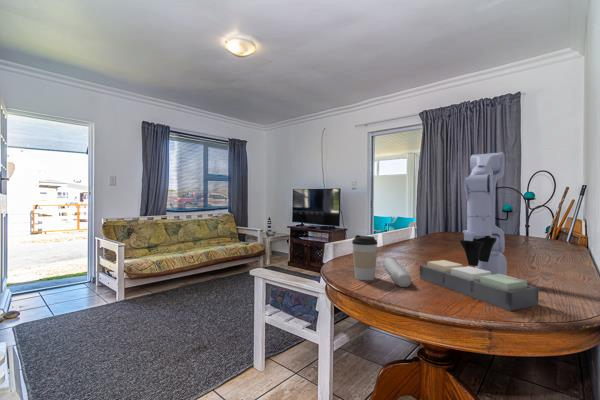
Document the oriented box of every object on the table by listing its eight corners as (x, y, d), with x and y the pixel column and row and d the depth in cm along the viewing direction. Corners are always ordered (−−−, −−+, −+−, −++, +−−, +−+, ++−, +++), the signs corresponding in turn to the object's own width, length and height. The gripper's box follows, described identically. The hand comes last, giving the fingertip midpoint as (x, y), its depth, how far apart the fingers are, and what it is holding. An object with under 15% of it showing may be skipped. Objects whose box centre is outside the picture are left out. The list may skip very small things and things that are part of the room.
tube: (415, 277, 91) (398, 259, 115) (399, 271, 91) (385, 254, 116) (410, 292, 91) (394, 271, 116) (393, 287, 91) (381, 267, 116)
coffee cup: (382, 277, 104) (382, 235, 104) (369, 282, 97) (369, 238, 97) (360, 273, 110) (360, 233, 110) (347, 278, 103) (346, 236, 103)
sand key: (444, 266, 103) (444, 260, 103) (462, 271, 96) (462, 264, 96) (427, 268, 101) (427, 261, 101) (444, 273, 94) (444, 266, 94)
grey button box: (444, 275, 105) (444, 263, 105) (538, 305, 76) (538, 287, 76) (419, 278, 102) (419, 265, 102) (509, 310, 73) (509, 292, 72)
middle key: (468, 273, 94) (468, 266, 94) (491, 279, 87) (491, 271, 87) (451, 275, 91) (451, 268, 91) (472, 282, 84) (472, 274, 84)
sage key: (499, 282, 84) (499, 273, 84) (527, 289, 77) (527, 280, 77) (480, 284, 82) (480, 276, 82) (507, 293, 75) (507, 283, 75)
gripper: (473, 214, 91) (473, 257, 91) (452, 216, 82) (452, 264, 82) (499, 215, 85) (499, 261, 85) (480, 218, 76) (480, 269, 76)
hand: (478, 263), depth 83 cm, fingers open, 7 cm apart
